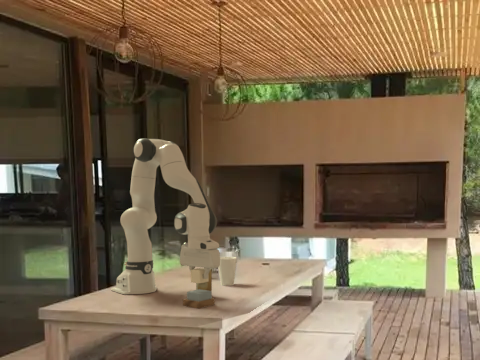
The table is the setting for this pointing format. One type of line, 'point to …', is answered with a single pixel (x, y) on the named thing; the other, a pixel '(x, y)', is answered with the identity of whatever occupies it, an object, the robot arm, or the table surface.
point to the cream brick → (198, 276)
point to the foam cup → (227, 270)
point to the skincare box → (205, 283)
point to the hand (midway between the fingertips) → (199, 277)
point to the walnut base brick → (198, 303)
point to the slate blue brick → (199, 295)
